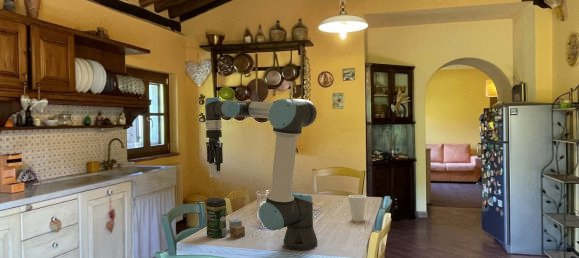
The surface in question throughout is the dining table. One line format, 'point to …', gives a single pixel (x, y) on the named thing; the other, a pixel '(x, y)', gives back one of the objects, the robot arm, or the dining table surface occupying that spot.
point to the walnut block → (237, 231)
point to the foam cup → (357, 207)
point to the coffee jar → (216, 217)
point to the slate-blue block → (234, 223)
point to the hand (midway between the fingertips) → (215, 177)
